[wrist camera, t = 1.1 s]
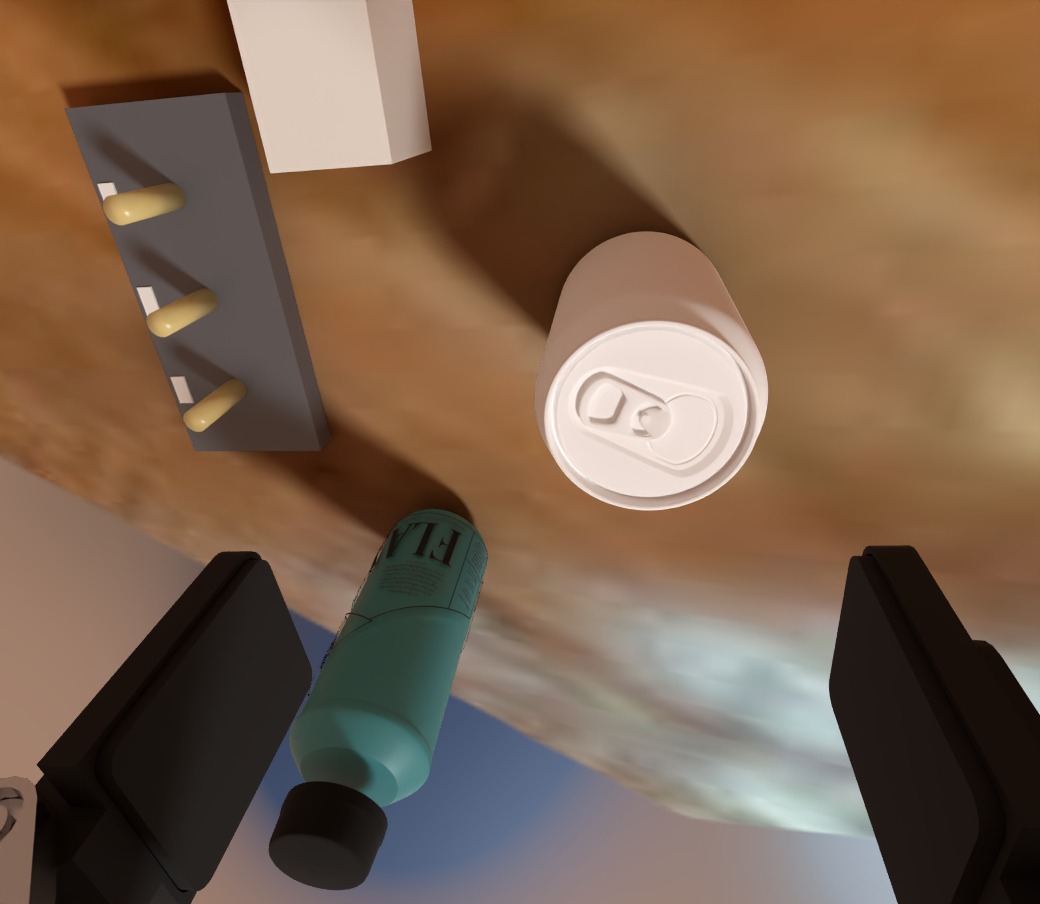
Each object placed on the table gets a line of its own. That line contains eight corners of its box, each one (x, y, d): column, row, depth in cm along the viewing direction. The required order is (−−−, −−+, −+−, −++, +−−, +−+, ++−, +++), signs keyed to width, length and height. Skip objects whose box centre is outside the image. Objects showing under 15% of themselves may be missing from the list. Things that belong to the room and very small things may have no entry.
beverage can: (681, 408, 34) (707, 549, 23) (537, 358, 33) (500, 479, 23) (755, 262, 30) (827, 356, 19) (592, 203, 29) (576, 267, 19)
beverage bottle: (487, 489, 38) (378, 821, 21) (501, 575, 41) (417, 923, 24) (384, 492, 39) (201, 808, 22) (406, 574, 42) (260, 907, 25)
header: (88, 107, 30) (-11, 111, 25) (242, 92, 29) (168, 93, 24) (209, 439, 39) (152, 487, 34) (331, 438, 38) (289, 488, 33)
